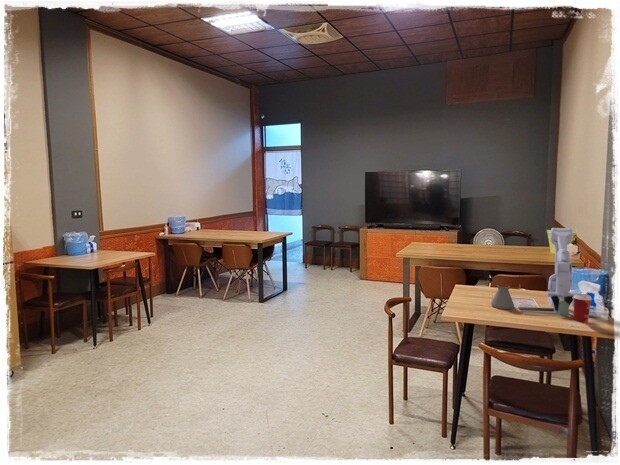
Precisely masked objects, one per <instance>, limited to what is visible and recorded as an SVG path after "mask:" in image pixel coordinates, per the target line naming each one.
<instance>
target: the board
mask: <svg viewBox="0 0 620 465" xmlns="http://www.w3.org/2000/svg"><path fill="white" fill-rule="evenodd" d="M517 309H518V310H519V311H520V312H521V313H523V315H524V316H530V317H531V316H533V317H534V316H535V317H561V318H563V317H564V318H574V315H572V314H571V313H569V312H568V315H559V314H557V313H556V312H554V307H538V306H537V307H530V306H518V308H517Z"/></svg>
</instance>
